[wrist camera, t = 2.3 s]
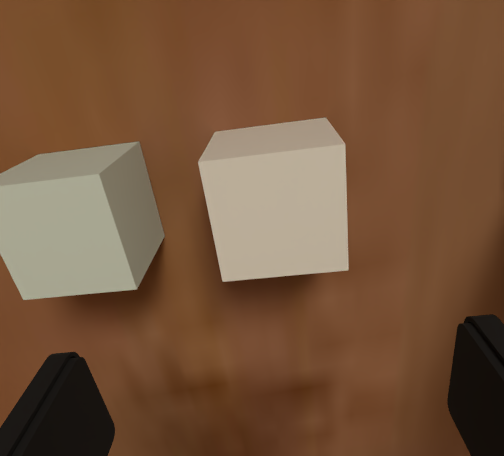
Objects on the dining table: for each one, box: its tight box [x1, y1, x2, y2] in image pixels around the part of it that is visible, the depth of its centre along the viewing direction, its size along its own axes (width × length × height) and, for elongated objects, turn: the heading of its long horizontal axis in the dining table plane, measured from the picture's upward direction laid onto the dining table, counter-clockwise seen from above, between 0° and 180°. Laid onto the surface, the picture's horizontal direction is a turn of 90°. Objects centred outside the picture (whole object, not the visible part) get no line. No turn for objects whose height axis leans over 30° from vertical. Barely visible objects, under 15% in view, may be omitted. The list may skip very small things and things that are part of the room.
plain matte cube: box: [0, 142, 165, 300], centre depth 21 cm, size 6×6×6 cm
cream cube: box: [198, 118, 348, 282], centre depth 20 cm, size 6×6×6 cm
